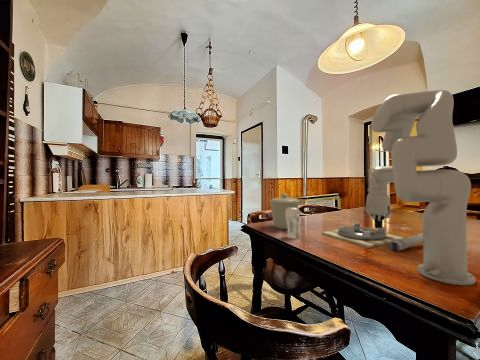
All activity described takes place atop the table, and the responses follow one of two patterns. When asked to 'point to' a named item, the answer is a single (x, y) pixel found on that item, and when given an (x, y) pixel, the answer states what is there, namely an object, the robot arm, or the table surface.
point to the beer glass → (292, 222)
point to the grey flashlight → (406, 242)
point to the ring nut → (362, 232)
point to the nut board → (363, 243)
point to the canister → (282, 209)
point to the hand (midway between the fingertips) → (378, 228)
